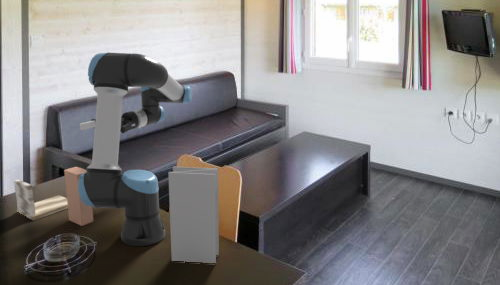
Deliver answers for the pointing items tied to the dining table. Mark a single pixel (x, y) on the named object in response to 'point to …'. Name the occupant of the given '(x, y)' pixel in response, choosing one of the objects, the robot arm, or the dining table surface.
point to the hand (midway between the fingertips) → (90, 129)
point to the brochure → (194, 214)
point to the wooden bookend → (39, 208)
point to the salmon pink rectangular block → (76, 198)
